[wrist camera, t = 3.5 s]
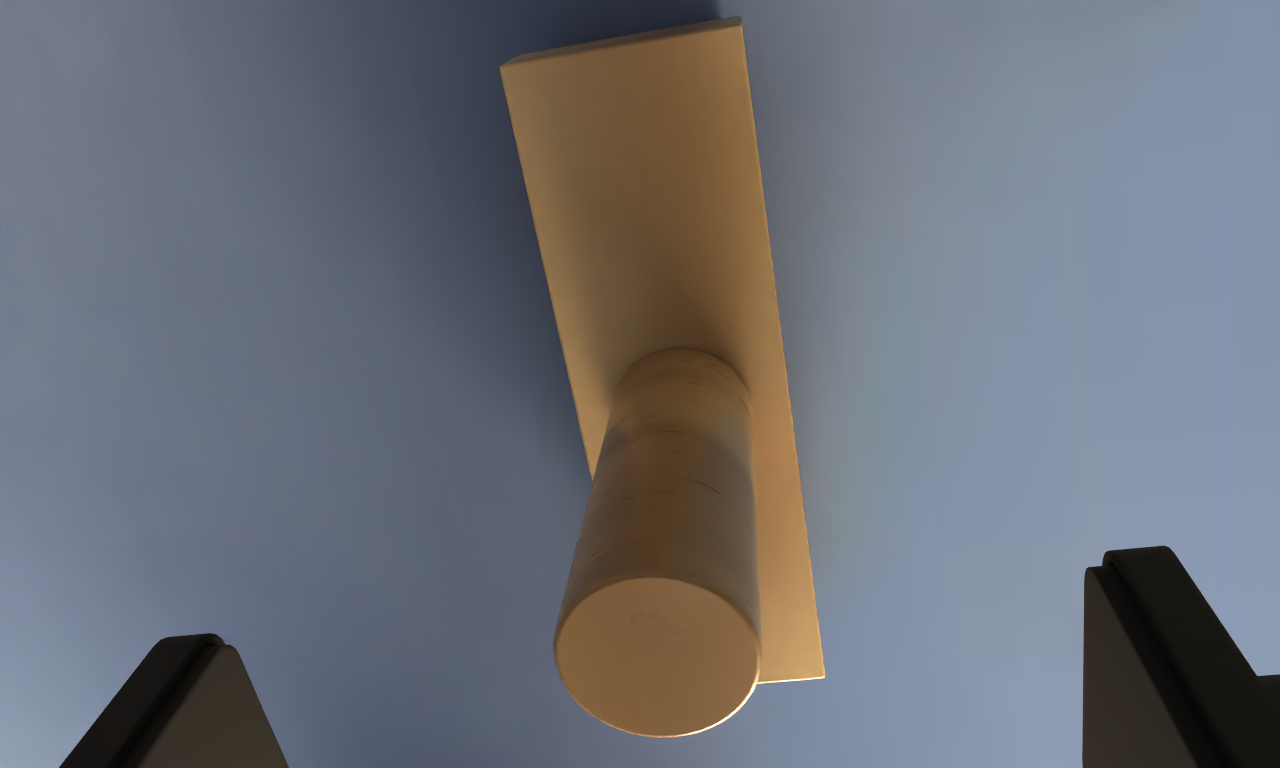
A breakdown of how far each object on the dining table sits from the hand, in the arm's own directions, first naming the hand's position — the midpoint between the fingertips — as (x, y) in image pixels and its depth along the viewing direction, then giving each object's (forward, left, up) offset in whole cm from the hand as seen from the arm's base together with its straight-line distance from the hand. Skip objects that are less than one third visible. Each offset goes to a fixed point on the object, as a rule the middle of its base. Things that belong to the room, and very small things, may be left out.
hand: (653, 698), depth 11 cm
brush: (0, -1, -11) cm, 11 cm away
